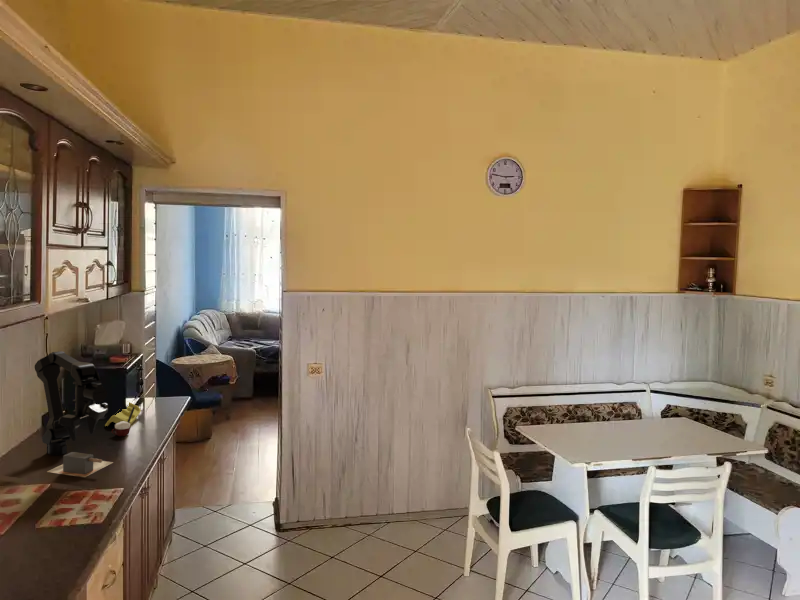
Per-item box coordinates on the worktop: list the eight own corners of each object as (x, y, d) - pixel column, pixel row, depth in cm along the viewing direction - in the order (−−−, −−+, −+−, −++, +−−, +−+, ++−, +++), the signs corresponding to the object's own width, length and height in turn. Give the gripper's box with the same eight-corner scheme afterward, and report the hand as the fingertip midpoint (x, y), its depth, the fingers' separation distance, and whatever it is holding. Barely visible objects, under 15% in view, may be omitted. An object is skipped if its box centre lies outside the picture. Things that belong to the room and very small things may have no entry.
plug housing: (63, 471, 226) (63, 455, 225) (71, 467, 230) (72, 451, 230) (96, 476, 223) (97, 460, 223) (105, 472, 228) (105, 456, 227)
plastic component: (130, 423, 286) (110, 413, 284) (123, 436, 286) (103, 427, 285) (143, 408, 305) (124, 399, 303) (136, 421, 306) (117, 412, 304)
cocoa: (111, 438, 271) (110, 412, 269) (113, 433, 277) (111, 408, 275) (134, 436, 274) (133, 410, 272) (135, 431, 280) (135, 406, 278)
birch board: (46, 475, 225) (46, 471, 225) (77, 461, 241) (77, 457, 241) (84, 481, 222) (84, 476, 222) (113, 466, 238) (113, 462, 238)
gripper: (84, 405, 222) (83, 447, 224) (118, 394, 240) (117, 432, 242) (58, 402, 225) (57, 443, 226) (94, 390, 243) (93, 429, 244)
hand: (83, 437), depth 235 cm, fingers open, 9 cm apart
